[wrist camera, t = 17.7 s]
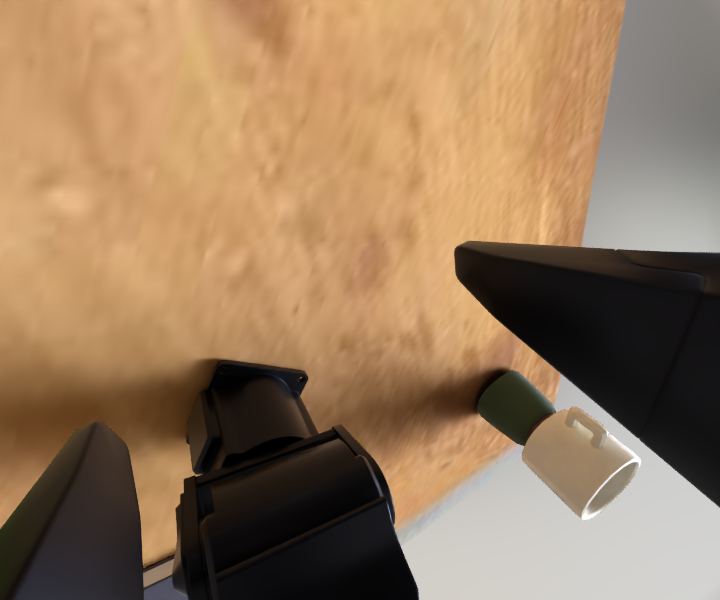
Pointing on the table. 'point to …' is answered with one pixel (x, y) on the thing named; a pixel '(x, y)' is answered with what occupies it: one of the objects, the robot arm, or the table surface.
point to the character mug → (560, 445)
